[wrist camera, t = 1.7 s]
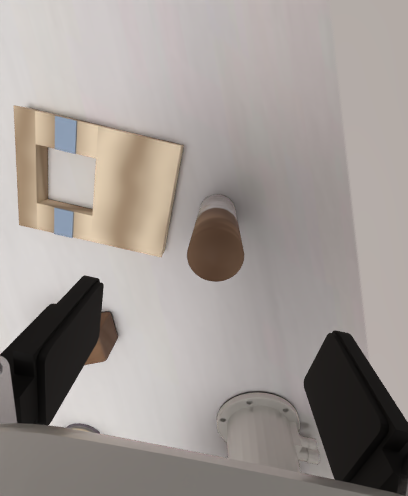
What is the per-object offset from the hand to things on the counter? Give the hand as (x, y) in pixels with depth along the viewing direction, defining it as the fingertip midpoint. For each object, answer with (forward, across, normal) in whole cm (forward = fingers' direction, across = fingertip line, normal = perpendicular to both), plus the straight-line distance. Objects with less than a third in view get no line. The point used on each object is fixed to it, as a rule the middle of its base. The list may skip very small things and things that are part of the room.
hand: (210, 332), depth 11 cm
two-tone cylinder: (+20, 0, +1) cm, 21 cm away
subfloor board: (+20, +13, +1) cm, 24 cm away
